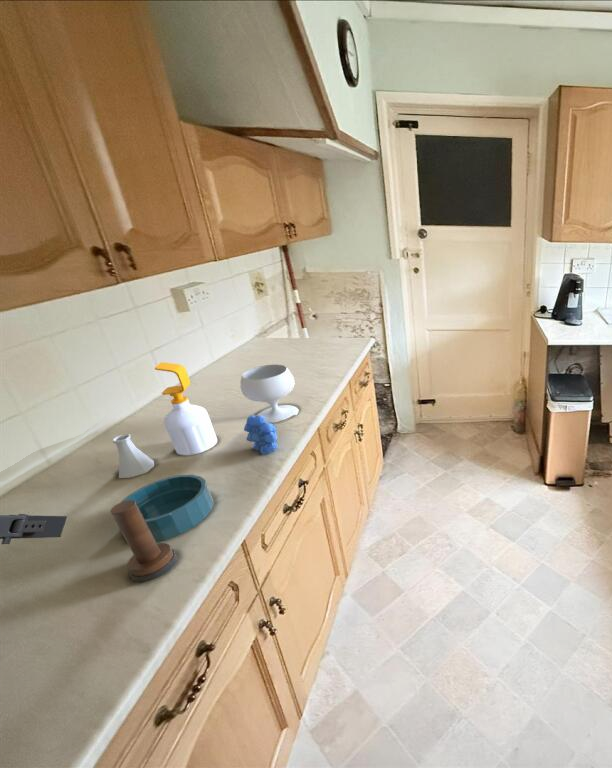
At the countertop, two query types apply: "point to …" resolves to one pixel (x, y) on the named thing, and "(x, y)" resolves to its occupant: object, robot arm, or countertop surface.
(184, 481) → the bowl
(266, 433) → the grapes
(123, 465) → the flask
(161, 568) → the dish brush
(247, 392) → the chalice
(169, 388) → the soap bottle
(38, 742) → the countertop surface
